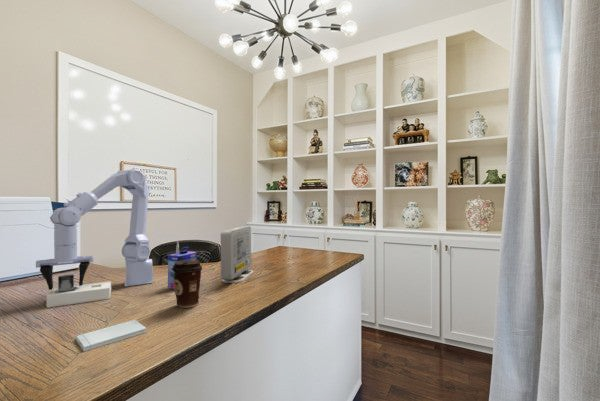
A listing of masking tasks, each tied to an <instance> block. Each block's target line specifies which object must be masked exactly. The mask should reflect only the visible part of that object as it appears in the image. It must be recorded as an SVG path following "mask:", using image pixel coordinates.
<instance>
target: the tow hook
mask: <svg viewBox="0 0 600 401" xmlns="http://www.w3.org/2000/svg"><path fill="white" fill-rule="evenodd" d="M179 241H180V240H176V247H175V249H176V250H175V253H180V244H179Z"/></svg>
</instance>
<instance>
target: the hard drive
mask: <svg viewBox="0 0 600 401" xmlns="http://www.w3.org/2000/svg"><path fill="white" fill-rule="evenodd" d="M145 333H147V327H146V326H144V325H143V324H141V323H140V322H139V321H138V320H136V319H133V320H129V321H126V322H122V323H119V324H114V325H111V326H108V327H104V328H100V329H97V330H93V331H89V332H85V333H82V334H79V335H78V334H77V335H76V336H75V340H76V342H77V343H78V345H79V347H80V348H81V349H82V351H83V352H87V351H91V350H93V349H97V348H100V347H103V346H106V345H110V344H114V343H116V342H120V341H123V340H126V339H130V338H132V337H133V338H134V337H136V336H139V335H142V334H145Z"/></svg>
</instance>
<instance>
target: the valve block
mask: <svg viewBox="0 0 600 401" xmlns="http://www.w3.org/2000/svg"><path fill="white" fill-rule="evenodd" d="M111 293H112V281H111V280H110V281H101V282H93V283H85V284H84V283H83V285H82V286H79V284H77V285H75V284H74V291H68V292H60V293H58V287H53V289H52V290H50V292H49V293H48V294H47V295H46V309H47V308H54V307H61V306H68V305H74V304H82V303H90V302H96V301H101V300H109V299H111V298H110V297H111V295H112V294H111Z"/></svg>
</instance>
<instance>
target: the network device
mask: <svg viewBox="0 0 600 401" xmlns="http://www.w3.org/2000/svg"><path fill="white" fill-rule="evenodd" d="M251 230H252V228H251V226H248V225H247V226H242V225H241V226H238V227H235V228H230V229H226V230H222V231H221V233H220V277H221V283H225V284H237V283H242V282H244V281H245V280H246V279H248V278H249V277H250V276H252V275H253V274H254V270H252V269H250V270H249V268H250V267H251V265H252V234H251V233H252V231H251ZM242 273H246V274H242ZM235 278H236V279H237V278H240V279H239V280H234V279H235Z"/></svg>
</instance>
